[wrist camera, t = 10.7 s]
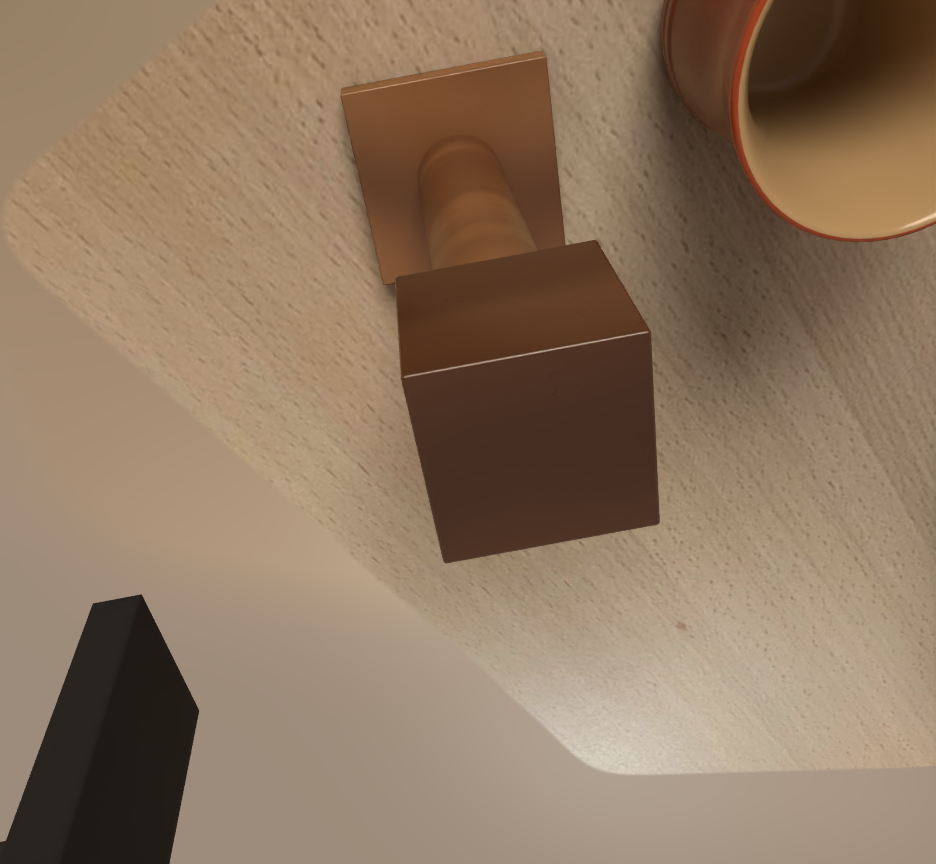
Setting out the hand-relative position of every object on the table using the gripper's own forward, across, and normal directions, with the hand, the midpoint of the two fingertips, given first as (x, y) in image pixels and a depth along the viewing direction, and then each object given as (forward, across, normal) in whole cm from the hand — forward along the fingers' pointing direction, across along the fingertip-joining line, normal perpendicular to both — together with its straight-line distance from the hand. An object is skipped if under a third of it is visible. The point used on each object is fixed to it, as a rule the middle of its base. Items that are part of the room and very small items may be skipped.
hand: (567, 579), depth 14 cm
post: (+22, 0, 0) cm, 22 cm away
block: (+8, 0, 0) cm, 8 cm away
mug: (+22, +13, +3) cm, 26 cm away
